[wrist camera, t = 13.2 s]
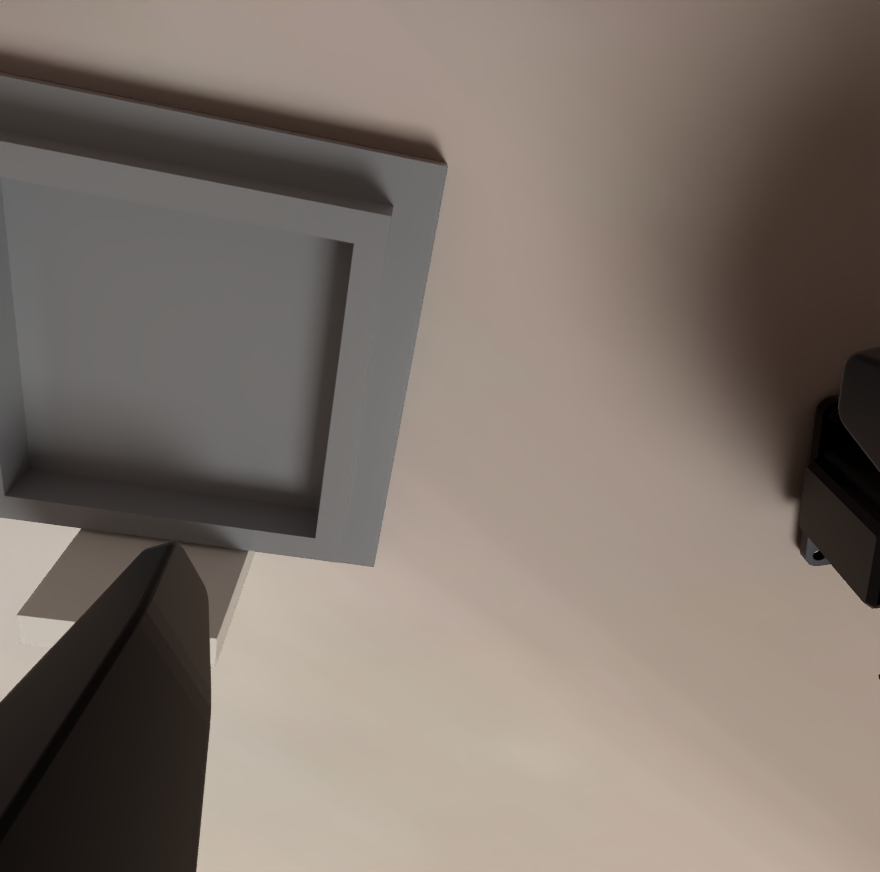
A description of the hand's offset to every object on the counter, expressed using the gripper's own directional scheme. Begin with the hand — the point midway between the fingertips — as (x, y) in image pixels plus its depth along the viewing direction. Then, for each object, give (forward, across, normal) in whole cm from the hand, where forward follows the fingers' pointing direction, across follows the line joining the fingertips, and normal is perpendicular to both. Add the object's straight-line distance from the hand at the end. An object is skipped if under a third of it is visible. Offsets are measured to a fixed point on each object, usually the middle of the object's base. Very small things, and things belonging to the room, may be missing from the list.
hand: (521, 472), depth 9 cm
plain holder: (+12, +7, +2) cm, 14 cm away
